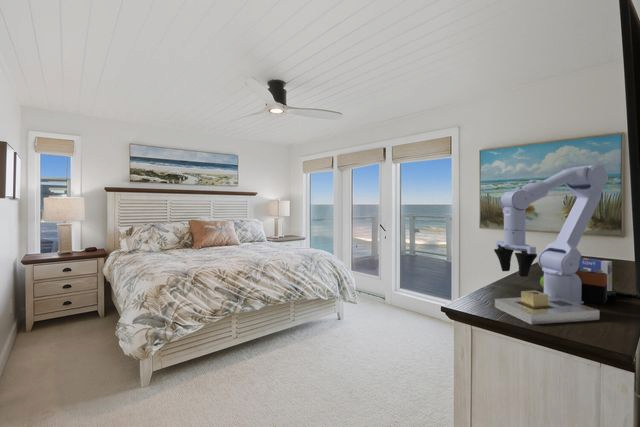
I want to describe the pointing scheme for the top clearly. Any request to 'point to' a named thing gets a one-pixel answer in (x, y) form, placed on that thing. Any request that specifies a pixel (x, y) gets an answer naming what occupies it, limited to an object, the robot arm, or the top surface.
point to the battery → (593, 286)
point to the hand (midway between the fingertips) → (514, 273)
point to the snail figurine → (542, 281)
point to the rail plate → (548, 311)
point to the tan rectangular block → (534, 299)
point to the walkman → (598, 268)
